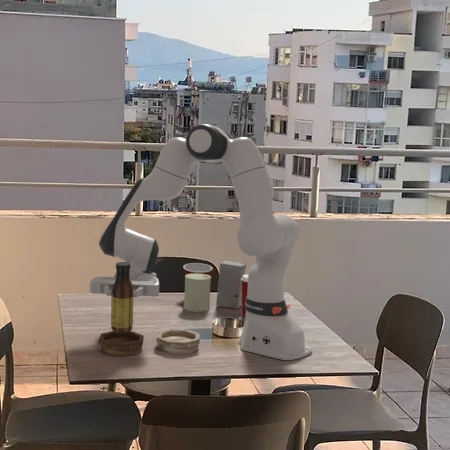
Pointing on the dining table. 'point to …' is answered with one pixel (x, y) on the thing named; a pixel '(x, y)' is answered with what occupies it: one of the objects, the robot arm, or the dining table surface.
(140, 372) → the dining table surface
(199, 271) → the plastic cup
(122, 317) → the sauce bottle
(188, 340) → the birch ring seat
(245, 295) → the paper cup
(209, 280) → the can
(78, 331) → the dining table surface
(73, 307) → the dining table surface
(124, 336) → the walnut ring seat
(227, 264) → the skincare box
